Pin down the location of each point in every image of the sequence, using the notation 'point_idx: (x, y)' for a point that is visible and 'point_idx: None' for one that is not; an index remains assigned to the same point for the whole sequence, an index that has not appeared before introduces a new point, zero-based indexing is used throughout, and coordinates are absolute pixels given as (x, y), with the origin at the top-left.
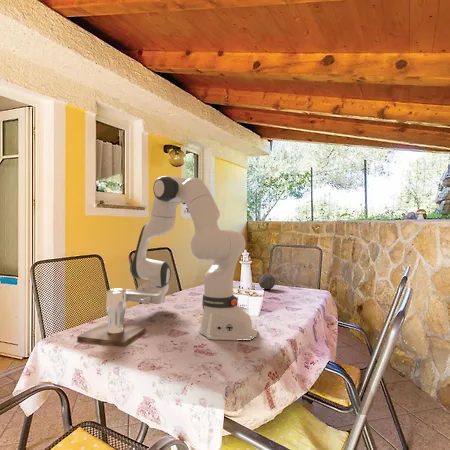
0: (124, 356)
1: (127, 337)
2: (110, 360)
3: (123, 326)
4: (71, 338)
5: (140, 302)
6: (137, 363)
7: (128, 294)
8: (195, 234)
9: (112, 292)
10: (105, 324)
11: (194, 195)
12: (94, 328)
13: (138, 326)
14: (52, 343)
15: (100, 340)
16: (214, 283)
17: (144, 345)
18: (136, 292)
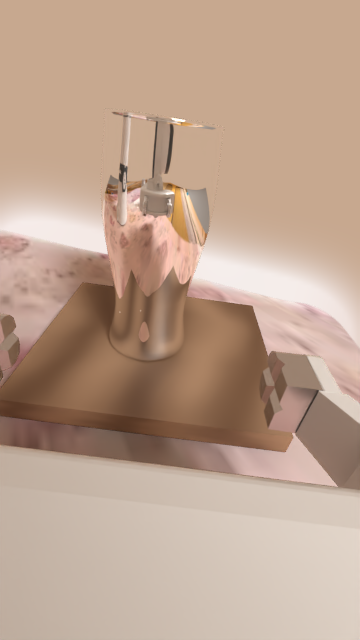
0: (67, 264)
1: (79, 303)
2: (95, 256)
3: (113, 314)
4: (281, 328)
5: (11, 340)
6: (30, 248)
7: (319, 492)
8: None
9: (210, 150)
10: (262, 411)
11: None
12: (263, 360)
13: (48, 405)
14: (292, 305)
15: None
16: None
17: (12, 300)
18: (160, 635)
